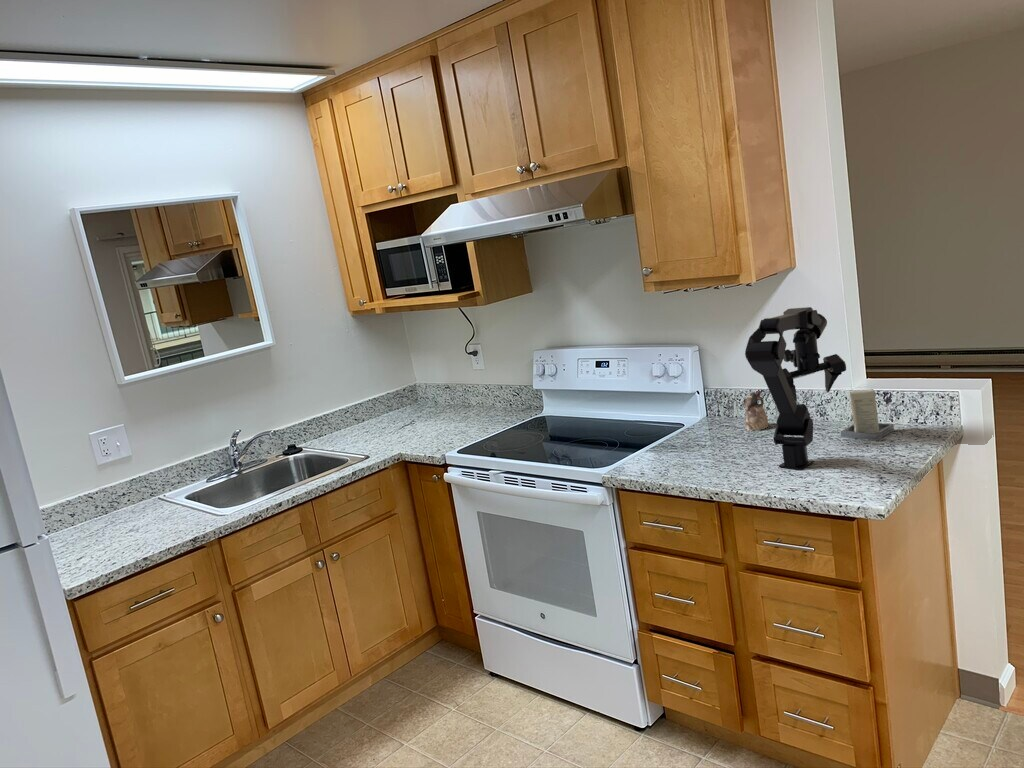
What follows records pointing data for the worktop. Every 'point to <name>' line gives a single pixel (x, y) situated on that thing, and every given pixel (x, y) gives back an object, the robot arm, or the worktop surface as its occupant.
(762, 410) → the figurine
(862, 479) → the worktop surface
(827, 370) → the robot arm
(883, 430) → the square gray open tray
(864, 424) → the skincare box
